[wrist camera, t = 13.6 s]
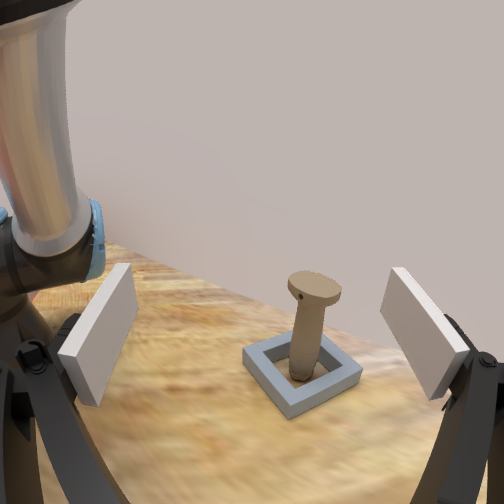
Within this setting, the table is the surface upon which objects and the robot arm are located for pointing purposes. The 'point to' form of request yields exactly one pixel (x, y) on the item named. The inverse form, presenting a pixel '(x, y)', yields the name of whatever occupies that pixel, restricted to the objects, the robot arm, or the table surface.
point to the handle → (309, 319)
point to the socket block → (310, 394)
